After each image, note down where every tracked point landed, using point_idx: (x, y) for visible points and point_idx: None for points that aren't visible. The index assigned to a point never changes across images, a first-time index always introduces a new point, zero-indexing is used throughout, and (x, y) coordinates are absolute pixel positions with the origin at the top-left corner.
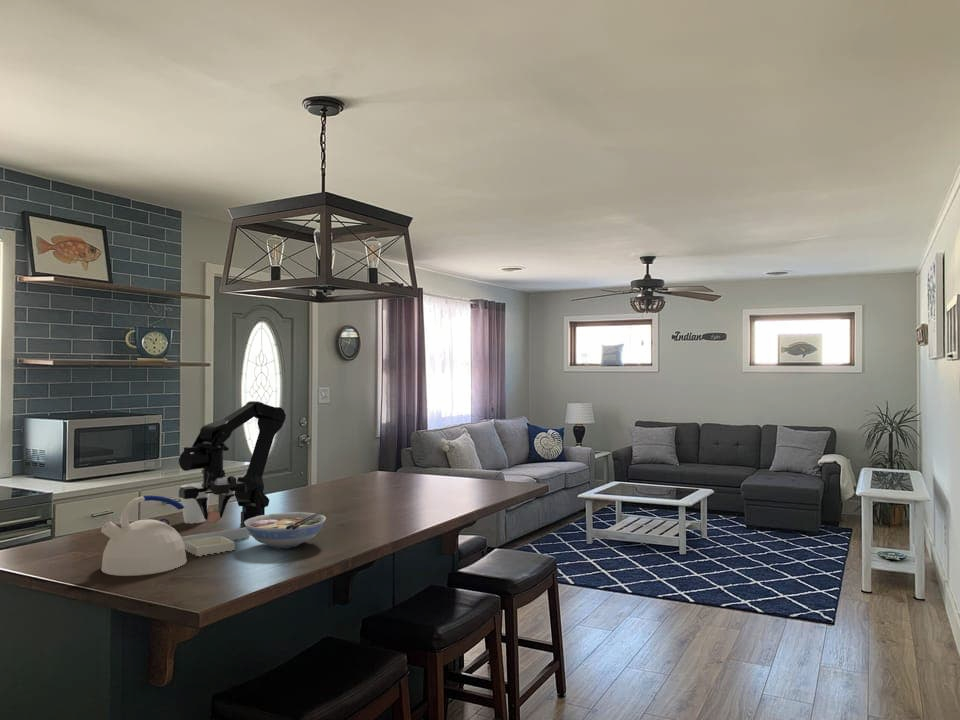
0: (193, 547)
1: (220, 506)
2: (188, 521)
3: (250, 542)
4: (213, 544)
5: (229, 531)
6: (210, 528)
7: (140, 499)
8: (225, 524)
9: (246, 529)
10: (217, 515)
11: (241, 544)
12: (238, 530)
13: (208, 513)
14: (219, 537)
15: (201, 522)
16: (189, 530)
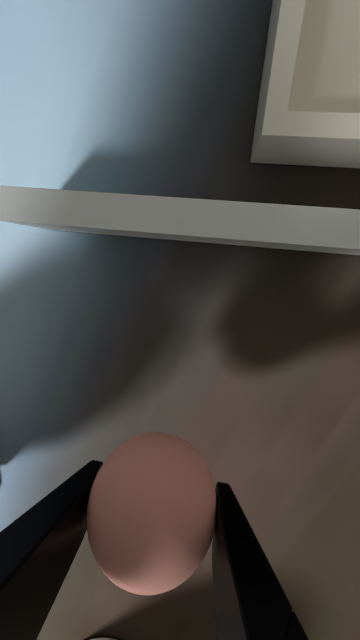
0: None
1: (30, 597)
2: None
3: (85, 55)
4: (334, 107)
5: (154, 196)
6: None
7: None
8: None
9: (22, 189)
10: (134, 459)
11: (156, 35)
12: (83, 192)
13: (205, 536)
14: (286, 108)
15: (102, 637)
16: (202, 571)
